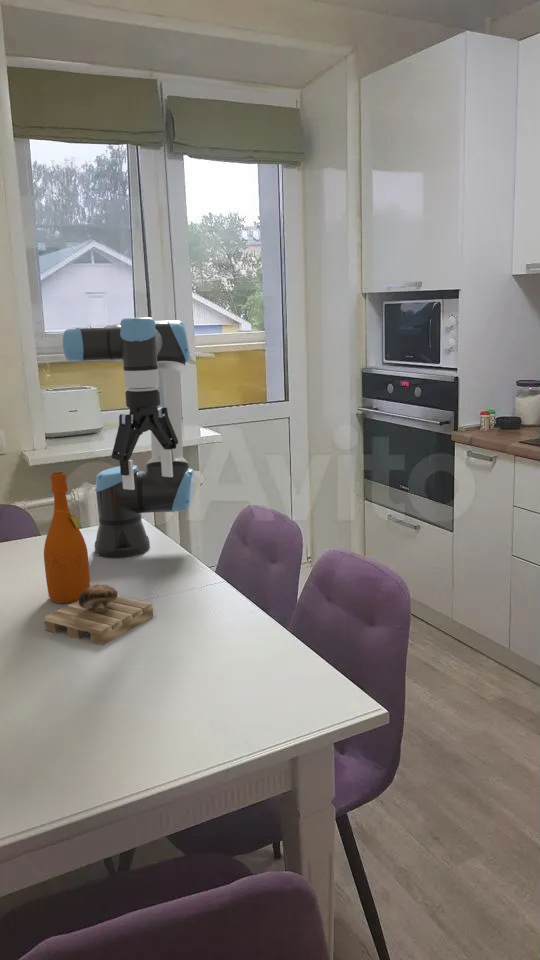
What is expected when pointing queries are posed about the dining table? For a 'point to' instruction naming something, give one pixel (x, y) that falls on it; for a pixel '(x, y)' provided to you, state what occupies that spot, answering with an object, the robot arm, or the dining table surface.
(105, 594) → the mushroom
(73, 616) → the pallet
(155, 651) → the dining table surface
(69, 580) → the wine bottle
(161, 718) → the dining table surface
